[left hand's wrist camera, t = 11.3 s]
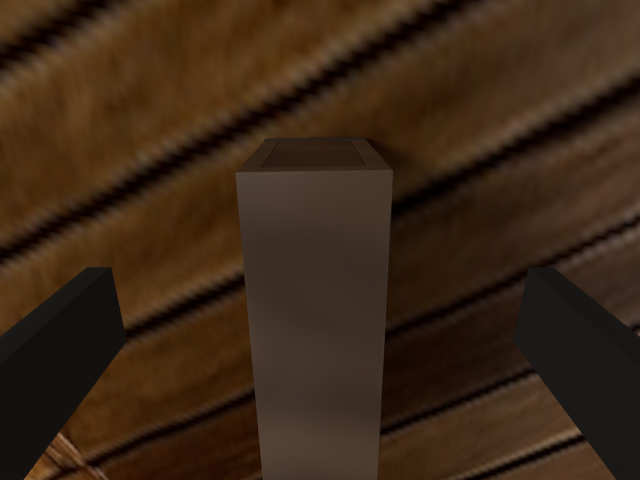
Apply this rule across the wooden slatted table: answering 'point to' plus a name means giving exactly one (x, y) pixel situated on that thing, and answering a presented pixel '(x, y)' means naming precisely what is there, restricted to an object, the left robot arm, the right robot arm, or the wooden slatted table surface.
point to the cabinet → (316, 302)
